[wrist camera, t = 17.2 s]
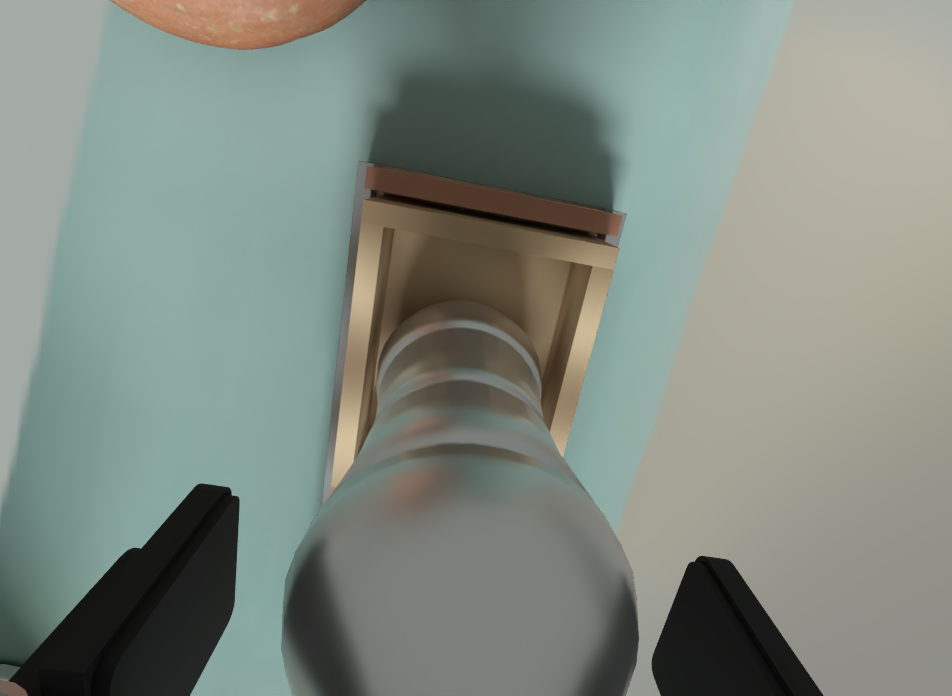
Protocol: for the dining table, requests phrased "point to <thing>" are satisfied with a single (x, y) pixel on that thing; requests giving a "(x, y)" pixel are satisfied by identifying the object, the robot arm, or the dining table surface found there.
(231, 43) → the ceramic jug
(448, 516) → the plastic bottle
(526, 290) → the box
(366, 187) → the wooden tray
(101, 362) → the dining table surface
